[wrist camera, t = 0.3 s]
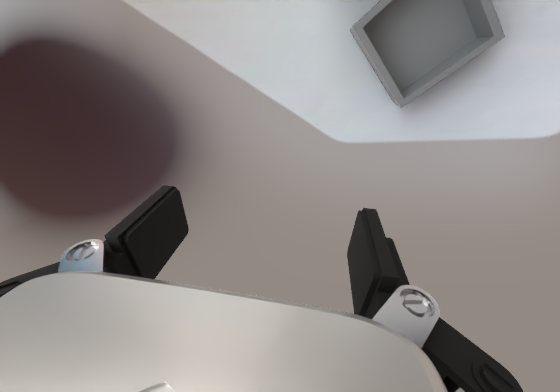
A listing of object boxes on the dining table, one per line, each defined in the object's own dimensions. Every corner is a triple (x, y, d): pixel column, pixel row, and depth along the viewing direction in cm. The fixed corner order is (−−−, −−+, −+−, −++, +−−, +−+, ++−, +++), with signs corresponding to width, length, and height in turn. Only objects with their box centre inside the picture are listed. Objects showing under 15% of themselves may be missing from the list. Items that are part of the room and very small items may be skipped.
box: (444, -60, 25) (462, -76, 22) (484, 38, 29) (504, 36, 26) (349, 29, 31) (352, 26, 28) (393, 102, 35) (401, 107, 31)
